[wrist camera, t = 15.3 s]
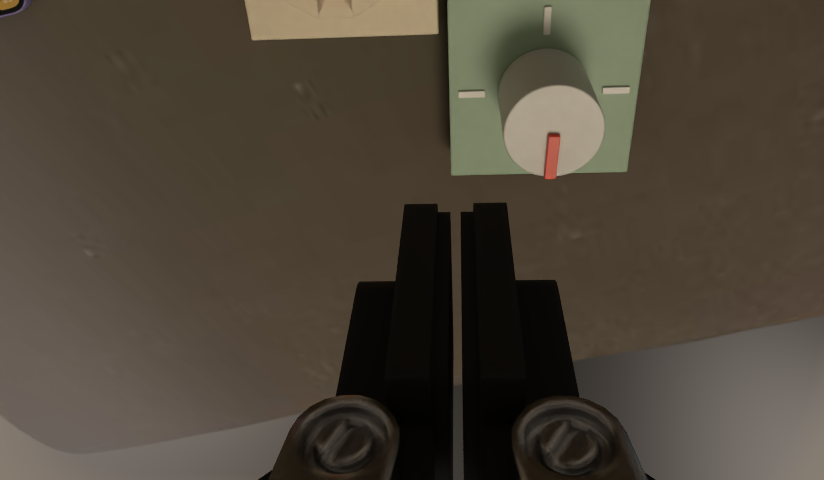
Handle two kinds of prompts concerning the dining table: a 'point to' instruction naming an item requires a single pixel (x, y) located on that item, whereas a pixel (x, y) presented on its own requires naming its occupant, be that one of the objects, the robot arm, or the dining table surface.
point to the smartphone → (12, 6)
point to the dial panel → (530, 30)
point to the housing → (340, 18)
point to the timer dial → (549, 113)
